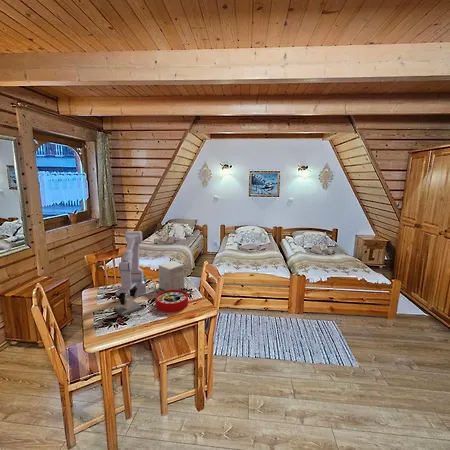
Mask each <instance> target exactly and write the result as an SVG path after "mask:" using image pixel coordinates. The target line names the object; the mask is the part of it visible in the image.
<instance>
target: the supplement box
mask: <svg viewBox="0 0 450 450" xmlns="http://www.w3.org/2000/svg"><path fill="white" fill-rule="evenodd" d="M158 276H159V277H158V279H159V289H161V290H163V291H167V290H181V289H183V288H185V265H184V264H183V263H180V262H178V261H174V260H171V261H168V262H164V263H160V264H158Z"/></svg>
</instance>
